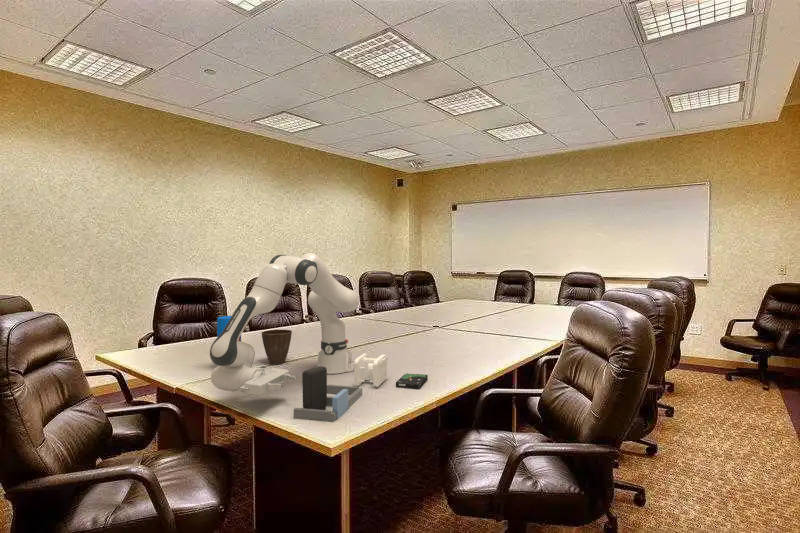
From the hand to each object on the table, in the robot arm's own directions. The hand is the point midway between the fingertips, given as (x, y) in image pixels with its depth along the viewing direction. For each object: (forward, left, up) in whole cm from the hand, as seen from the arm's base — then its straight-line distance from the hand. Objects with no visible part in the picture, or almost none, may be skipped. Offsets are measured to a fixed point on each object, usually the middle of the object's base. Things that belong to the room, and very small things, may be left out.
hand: (288, 382), depth 153 cm
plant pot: (-59, -39, -10) cm, 71 cm away
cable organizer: (-36, +19, -10) cm, 42 cm away
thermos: (-44, -56, -10) cm, 72 cm away
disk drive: (-40, +36, -10) cm, 55 cm away
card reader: (0, +10, -10) cm, 14 cm away
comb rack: (-7, +12, -9) cm, 17 cm away
